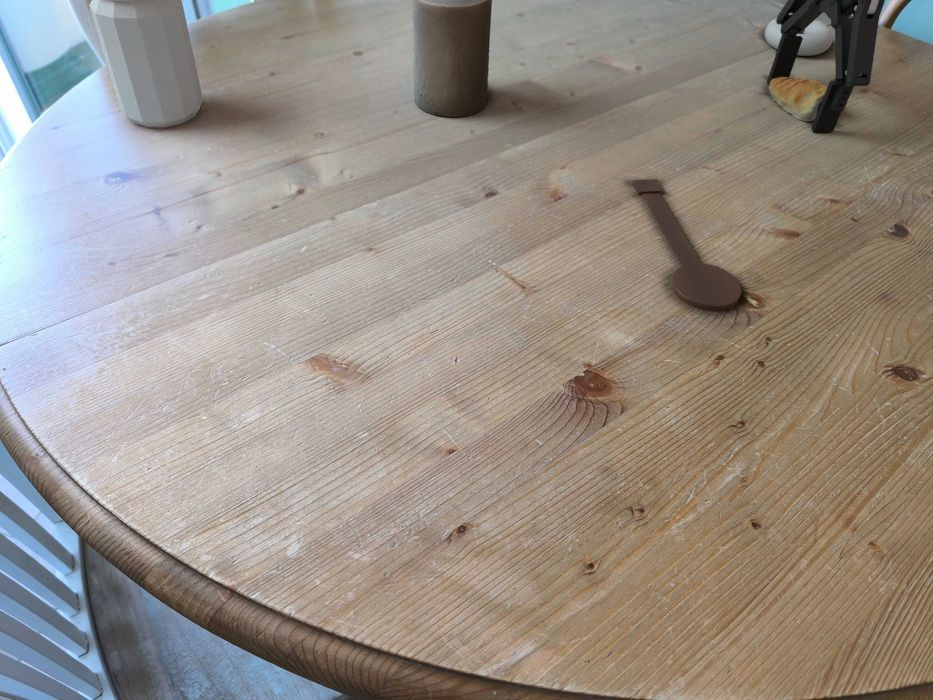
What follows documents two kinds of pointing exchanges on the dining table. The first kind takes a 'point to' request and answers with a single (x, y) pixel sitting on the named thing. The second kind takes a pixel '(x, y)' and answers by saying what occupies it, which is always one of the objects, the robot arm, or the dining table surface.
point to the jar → (149, 59)
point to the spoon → (689, 259)
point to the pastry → (798, 96)
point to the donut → (813, 39)
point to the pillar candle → (451, 55)
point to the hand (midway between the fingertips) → (798, 106)
